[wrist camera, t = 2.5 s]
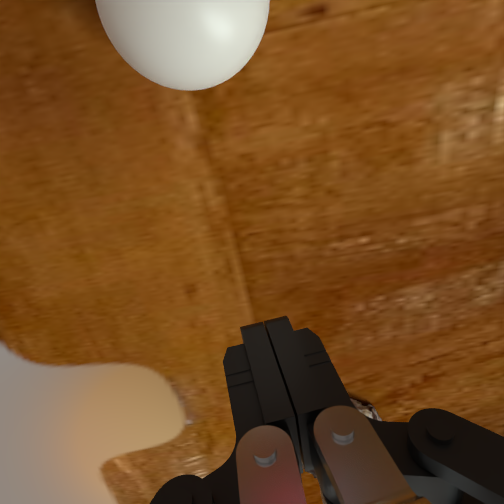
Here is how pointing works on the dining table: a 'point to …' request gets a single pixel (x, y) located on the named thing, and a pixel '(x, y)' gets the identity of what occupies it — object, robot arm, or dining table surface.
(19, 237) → the dining table surface
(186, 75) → the cue ball
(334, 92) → the dining table surface
